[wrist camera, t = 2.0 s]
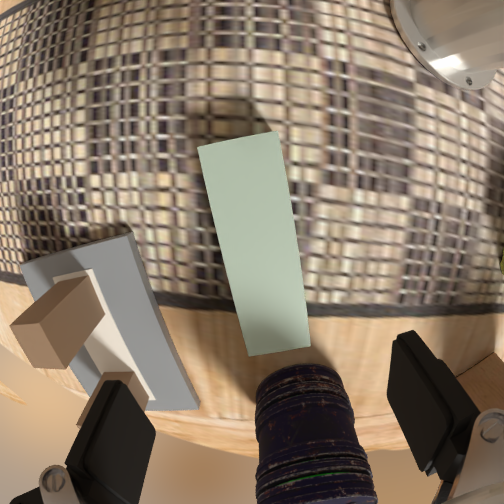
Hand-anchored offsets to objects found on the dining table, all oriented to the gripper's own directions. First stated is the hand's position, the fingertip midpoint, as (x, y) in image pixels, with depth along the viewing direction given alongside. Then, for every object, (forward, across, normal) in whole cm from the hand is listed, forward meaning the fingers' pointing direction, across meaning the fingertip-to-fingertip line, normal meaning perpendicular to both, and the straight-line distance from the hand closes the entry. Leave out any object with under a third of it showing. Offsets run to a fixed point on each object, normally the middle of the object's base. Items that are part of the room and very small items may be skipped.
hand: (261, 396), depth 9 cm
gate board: (+16, +16, +6) cm, 23 cm away
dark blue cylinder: (+16, -2, +18) cm, 23 cm away
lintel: (+16, -1, 0) cm, 16 cm away
